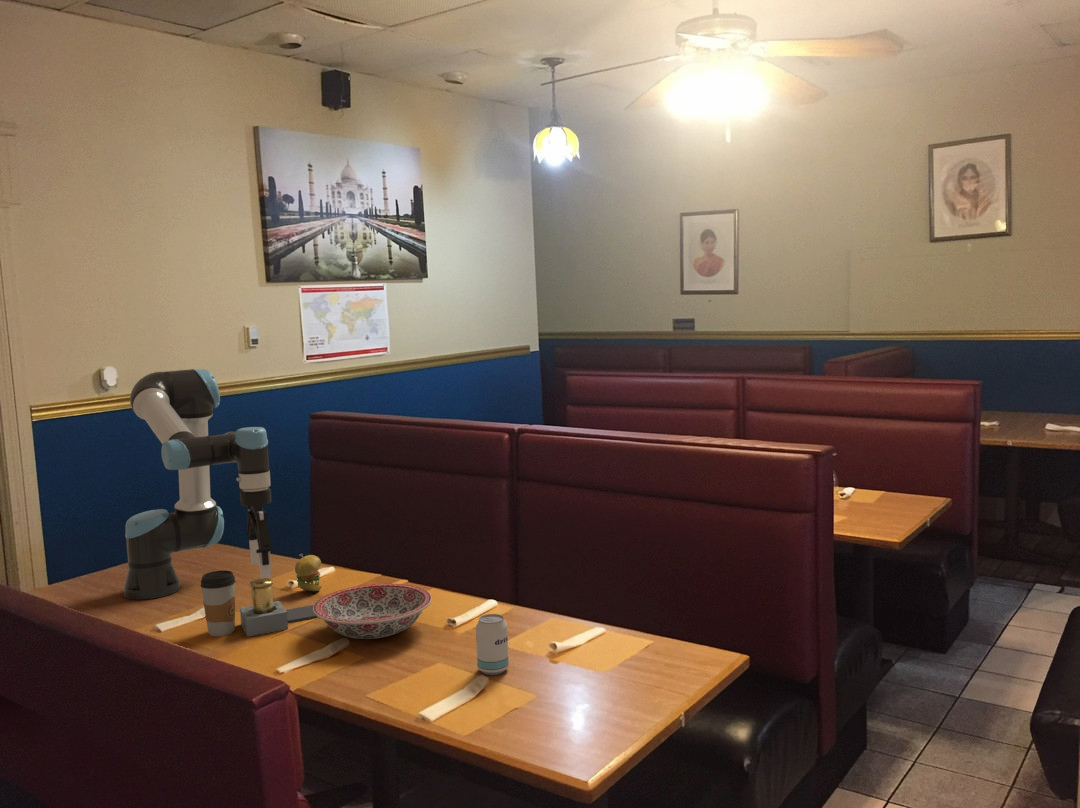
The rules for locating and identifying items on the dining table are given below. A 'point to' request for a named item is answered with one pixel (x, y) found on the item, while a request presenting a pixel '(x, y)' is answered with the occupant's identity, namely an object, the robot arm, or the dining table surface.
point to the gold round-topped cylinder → (262, 595)
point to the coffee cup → (219, 602)
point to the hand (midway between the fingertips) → (261, 570)
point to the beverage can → (492, 644)
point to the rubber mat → (300, 614)
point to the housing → (263, 620)
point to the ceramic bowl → (372, 609)
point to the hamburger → (308, 572)
